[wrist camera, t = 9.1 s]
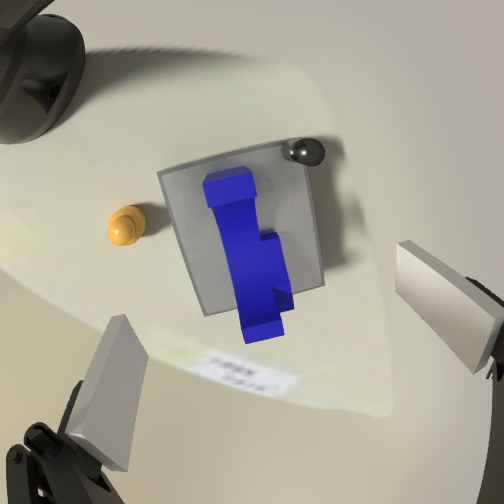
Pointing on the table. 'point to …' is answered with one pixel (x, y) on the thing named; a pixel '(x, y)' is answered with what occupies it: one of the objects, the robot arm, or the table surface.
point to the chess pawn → (126, 226)
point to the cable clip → (249, 254)
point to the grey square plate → (267, 210)
